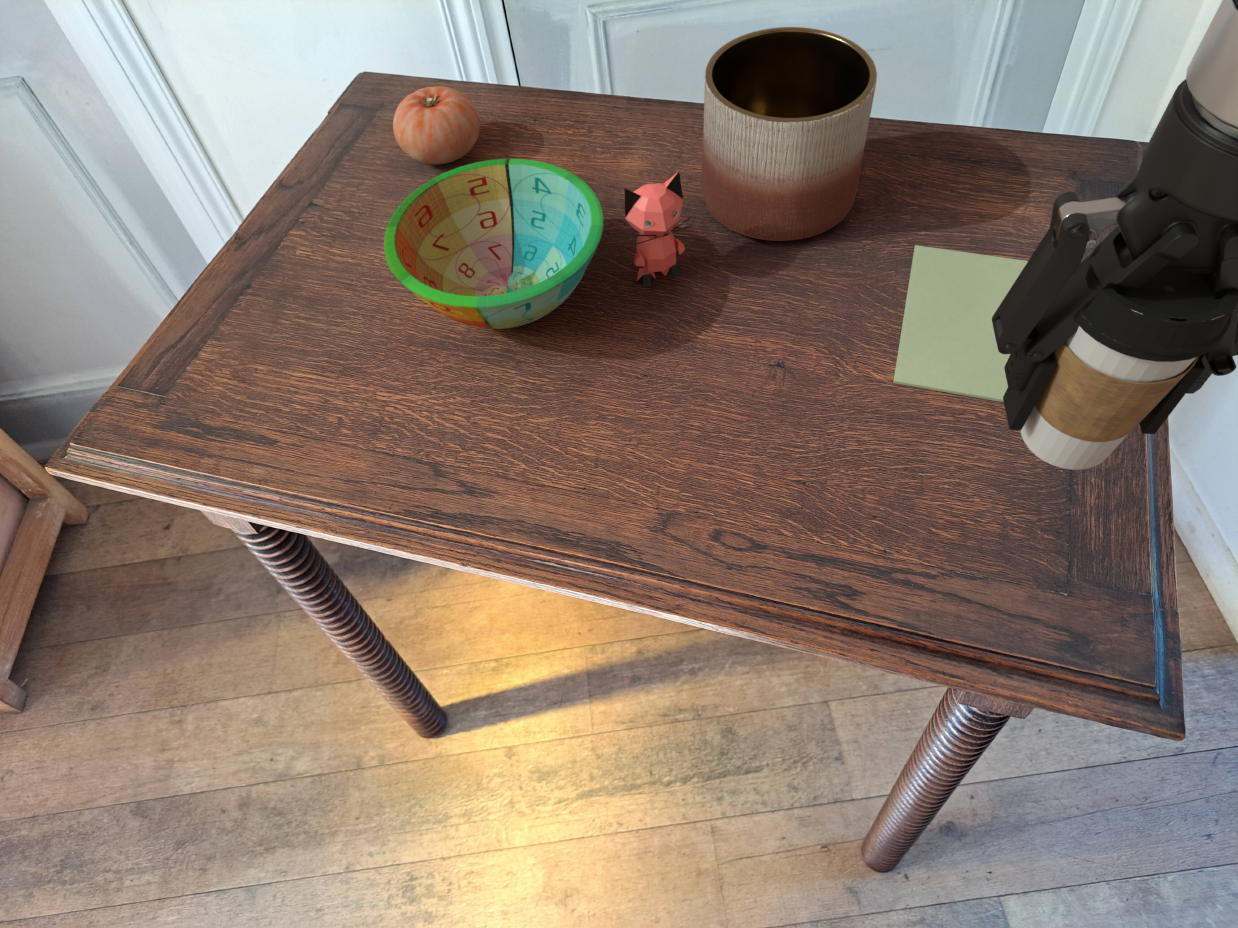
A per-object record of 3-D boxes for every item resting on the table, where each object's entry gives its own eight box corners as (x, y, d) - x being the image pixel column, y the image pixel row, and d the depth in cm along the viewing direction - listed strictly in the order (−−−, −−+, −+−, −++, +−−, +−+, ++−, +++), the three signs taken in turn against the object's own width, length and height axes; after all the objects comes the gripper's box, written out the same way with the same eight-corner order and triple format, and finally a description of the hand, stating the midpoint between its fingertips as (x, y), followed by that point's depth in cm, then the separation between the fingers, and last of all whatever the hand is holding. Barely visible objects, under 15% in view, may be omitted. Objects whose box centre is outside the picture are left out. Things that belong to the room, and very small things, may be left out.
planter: (688, 239, 98) (688, 115, 85) (715, 145, 107) (719, 20, 94) (847, 256, 94) (872, 130, 81) (860, 157, 104) (884, 30, 91)
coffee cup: (1005, 479, 57) (1093, 321, 44) (996, 381, 61) (1073, 214, 49) (1141, 493, 55) (1271, 334, 43) (1121, 392, 60) (1234, 222, 48)
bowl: (583, 388, 86) (572, 317, 78) (379, 360, 90) (347, 291, 82) (630, 240, 98) (625, 165, 90) (448, 221, 102) (427, 149, 94)
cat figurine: (638, 299, 93) (632, 210, 83) (615, 260, 96) (606, 170, 87) (697, 279, 94) (698, 189, 84) (672, 242, 98) (670, 150, 88)
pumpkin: (478, 178, 107) (465, 121, 100) (394, 180, 108) (375, 123, 101) (491, 126, 113) (479, 69, 106) (411, 128, 114) (394, 71, 107)
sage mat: (1044, 409, 81) (1046, 407, 80) (893, 383, 84) (893, 380, 83) (1049, 266, 91) (1050, 263, 91) (914, 247, 94) (915, 245, 94)
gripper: (1486, 50, 39) (1224, 375, 57) (1015, 56, 41) (912, 368, 60) (1575, 153, 34) (1261, 468, 53) (1045, 155, 37) (924, 456, 55)
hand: (1077, 415), depth 56 cm, fingers closed on coffee cup, 8 cm apart
